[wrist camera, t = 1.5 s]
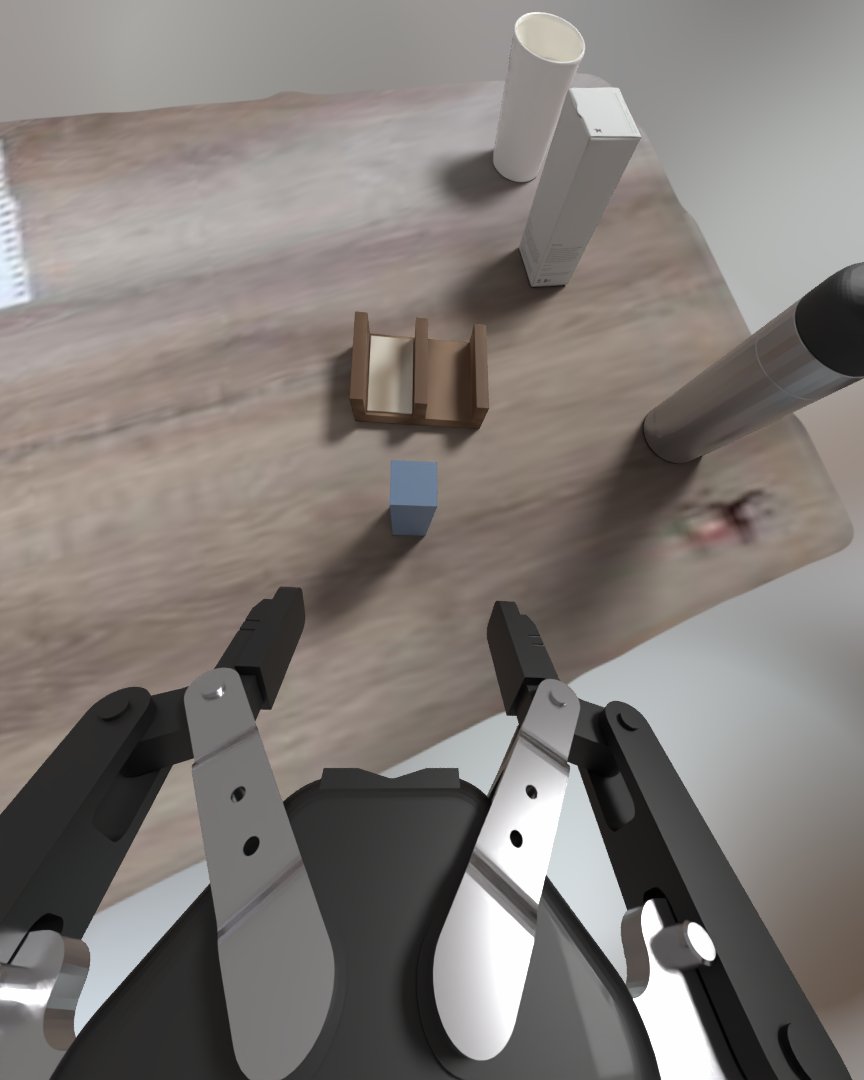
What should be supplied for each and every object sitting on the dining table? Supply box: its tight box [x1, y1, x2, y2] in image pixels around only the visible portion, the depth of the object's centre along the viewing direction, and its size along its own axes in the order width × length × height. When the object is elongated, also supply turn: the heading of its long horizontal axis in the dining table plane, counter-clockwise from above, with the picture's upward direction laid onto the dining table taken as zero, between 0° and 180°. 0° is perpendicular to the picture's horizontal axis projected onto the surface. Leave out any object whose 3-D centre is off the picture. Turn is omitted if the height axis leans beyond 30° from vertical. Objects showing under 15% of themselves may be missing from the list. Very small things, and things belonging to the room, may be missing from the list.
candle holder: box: [493, 12, 585, 182], centre depth 46 cm, size 10×10×12 cm
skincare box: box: [519, 88, 641, 287], centre depth 40 cm, size 8×7×16 cm
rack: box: [350, 312, 489, 429], centre depth 39 cm, size 16×12×4 cm
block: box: [390, 460, 437, 536], centre depth 32 cm, size 4×4×12 cm
